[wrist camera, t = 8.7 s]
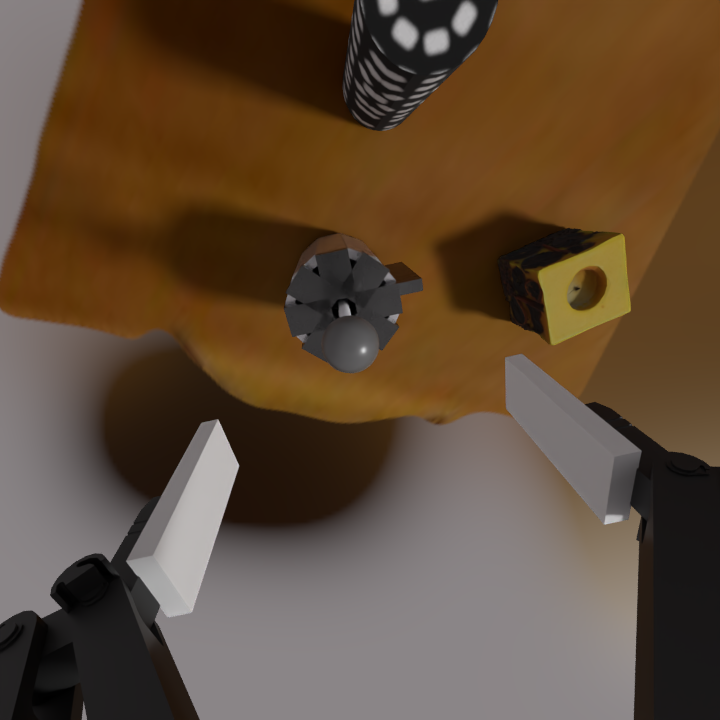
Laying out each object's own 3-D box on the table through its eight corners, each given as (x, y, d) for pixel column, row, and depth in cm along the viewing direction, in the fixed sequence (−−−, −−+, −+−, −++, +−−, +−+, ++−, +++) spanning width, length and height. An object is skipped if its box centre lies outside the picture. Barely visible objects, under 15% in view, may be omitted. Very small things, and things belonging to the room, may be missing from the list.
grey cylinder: (288, 243, 44) (270, 265, 30) (391, 221, 44) (424, 232, 30) (309, 321, 49) (303, 372, 34) (403, 300, 49) (436, 343, 34)
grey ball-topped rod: (301, 254, 43) (277, 312, 21) (362, 241, 43) (401, 286, 21) (316, 313, 47) (309, 416, 24) (373, 300, 47) (417, 393, 24)
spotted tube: (352, 139, 40) (375, 90, 22) (333, 47, 37) (343, -98, 19) (423, 120, 40) (504, 57, 22) (411, 27, 37) (496, -139, 19)
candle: (510, 323, 52) (549, 349, 43) (494, 257, 48) (533, 271, 39) (578, 294, 51) (633, 315, 42) (567, 225, 47) (625, 231, 38)
